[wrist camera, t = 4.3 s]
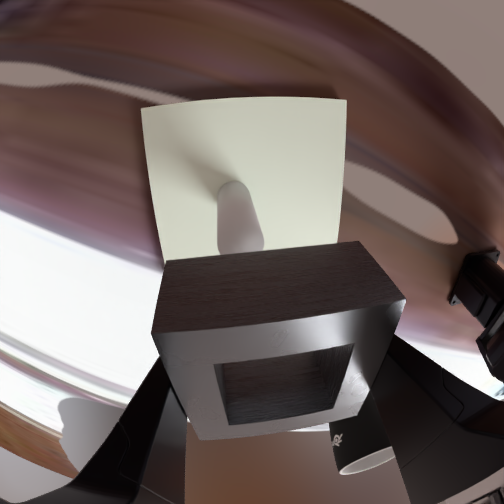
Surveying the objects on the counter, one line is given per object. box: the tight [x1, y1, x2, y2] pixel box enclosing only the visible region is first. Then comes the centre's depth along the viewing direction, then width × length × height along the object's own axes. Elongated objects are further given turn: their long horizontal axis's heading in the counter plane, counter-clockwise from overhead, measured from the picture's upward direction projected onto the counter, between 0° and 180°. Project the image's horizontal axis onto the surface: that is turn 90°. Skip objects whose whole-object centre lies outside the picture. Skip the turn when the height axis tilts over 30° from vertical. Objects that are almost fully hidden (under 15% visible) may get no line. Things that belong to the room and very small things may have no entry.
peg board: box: [141, 97, 347, 263], centre depth 15 cm, size 12×12×7 cm
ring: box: [151, 241, 406, 440], centre depth 9 cm, size 6×6×3 cm
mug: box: [329, 390, 395, 475], centre depth 30 cm, size 12×9×10 cm
